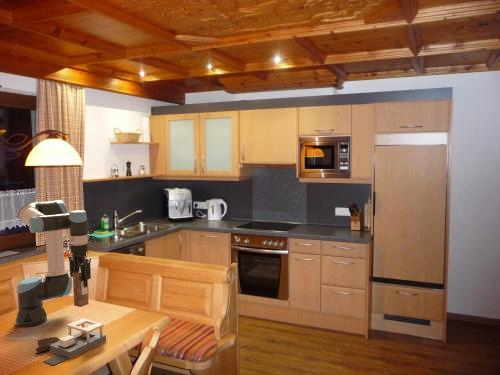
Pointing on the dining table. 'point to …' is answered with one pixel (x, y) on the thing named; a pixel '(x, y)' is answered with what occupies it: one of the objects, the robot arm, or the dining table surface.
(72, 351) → the two-tier post stand
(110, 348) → the dining table surface
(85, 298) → the brown rectangular block
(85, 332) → the plunger
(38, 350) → the rock
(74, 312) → the dining table surface
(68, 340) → the on button
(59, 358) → the pad
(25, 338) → the dining table surface
